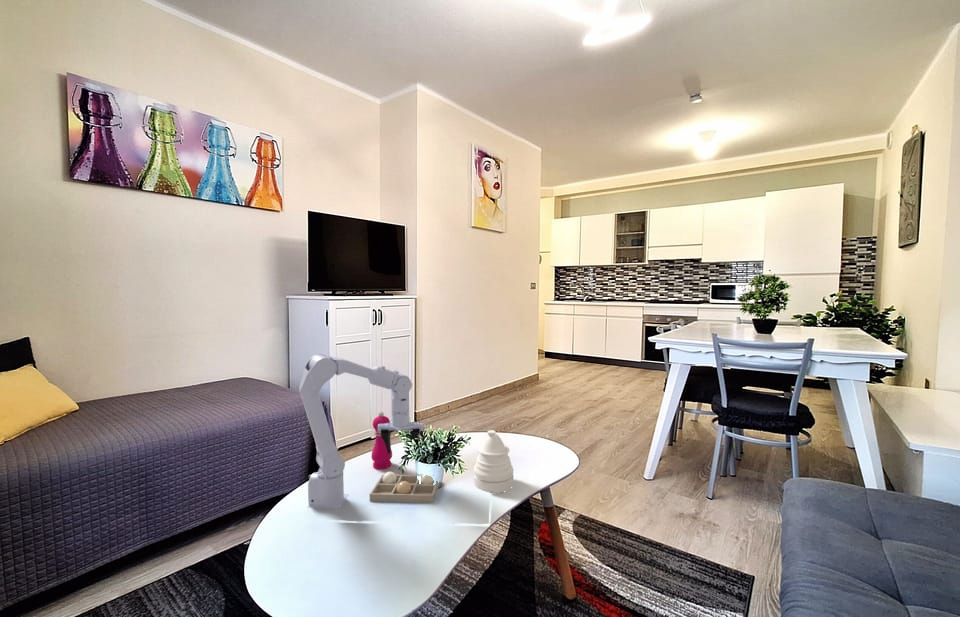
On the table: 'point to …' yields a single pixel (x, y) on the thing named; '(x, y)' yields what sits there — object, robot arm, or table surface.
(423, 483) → the cream egg right
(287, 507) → the table surface
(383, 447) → the pepper mill
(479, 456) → the honey pot
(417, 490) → the carton
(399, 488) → the tan orange ball
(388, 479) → the cream egg left
